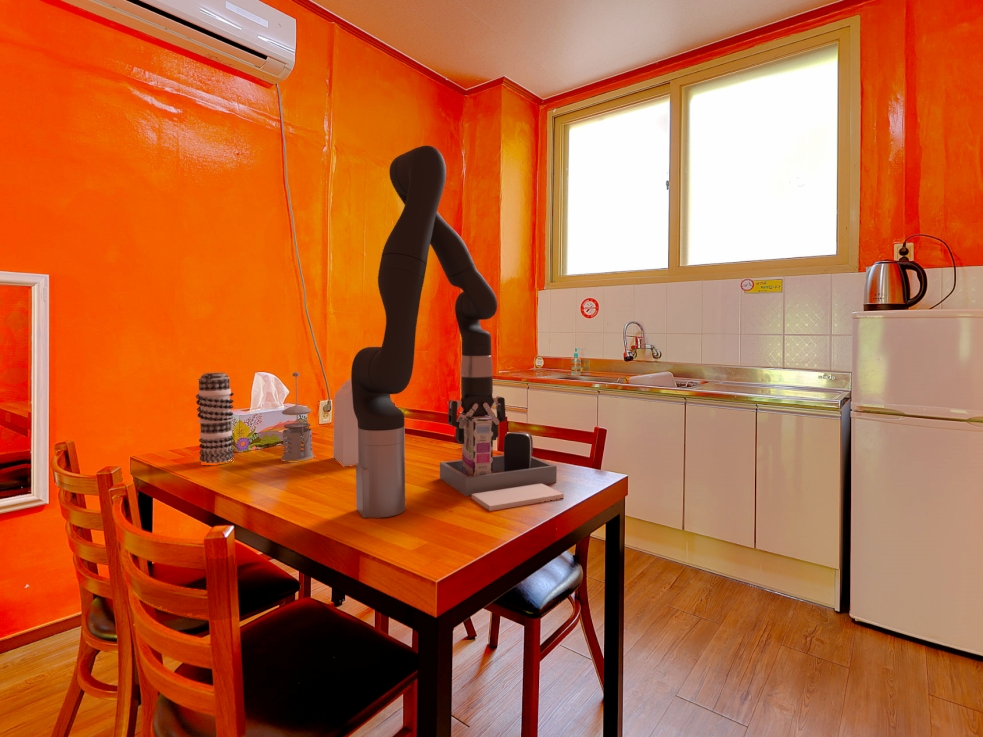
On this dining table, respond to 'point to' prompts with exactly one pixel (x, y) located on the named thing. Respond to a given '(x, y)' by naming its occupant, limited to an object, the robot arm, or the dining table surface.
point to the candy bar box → (477, 446)
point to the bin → (497, 476)
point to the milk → (345, 427)
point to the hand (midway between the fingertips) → (477, 441)
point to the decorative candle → (215, 418)
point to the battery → (517, 451)
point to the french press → (297, 434)
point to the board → (516, 496)
